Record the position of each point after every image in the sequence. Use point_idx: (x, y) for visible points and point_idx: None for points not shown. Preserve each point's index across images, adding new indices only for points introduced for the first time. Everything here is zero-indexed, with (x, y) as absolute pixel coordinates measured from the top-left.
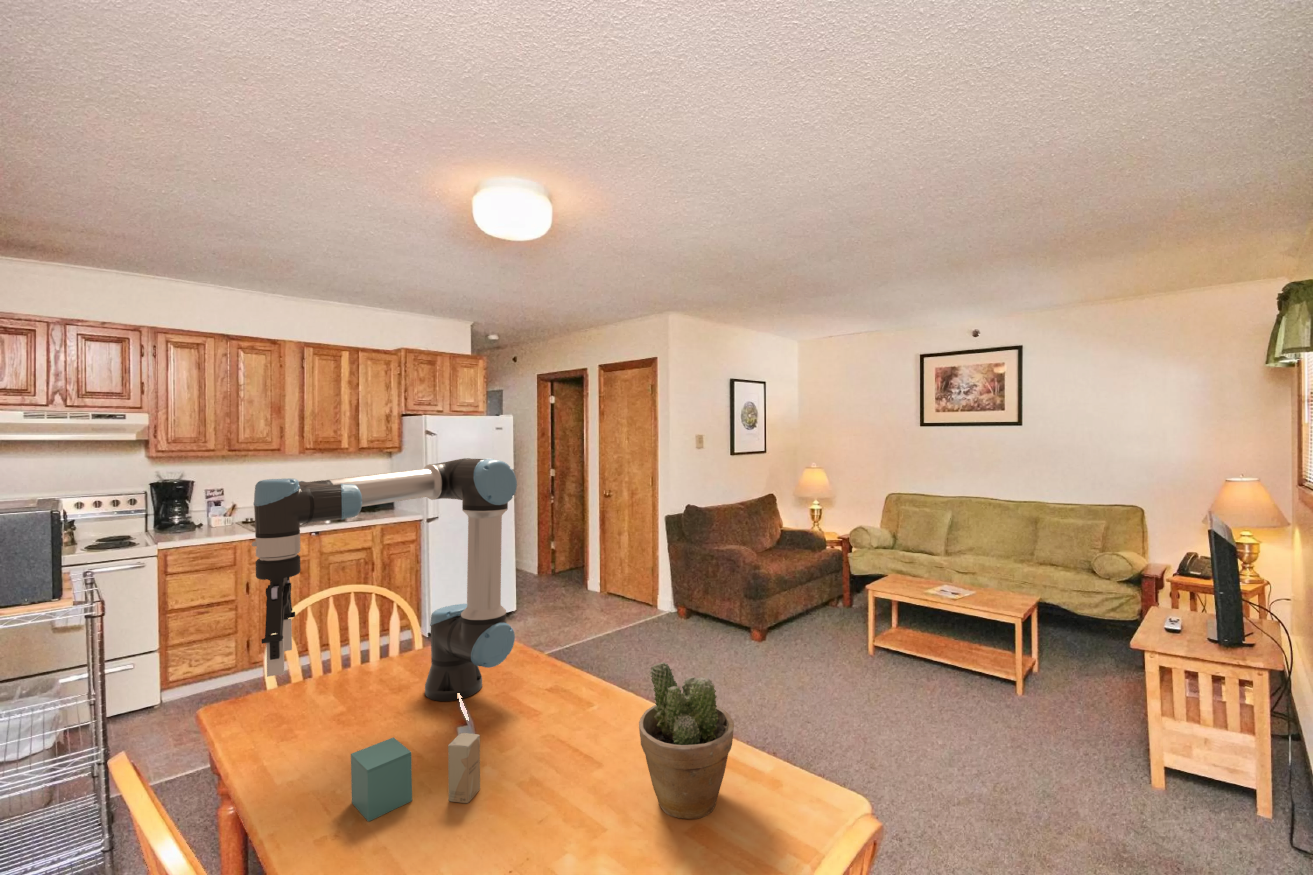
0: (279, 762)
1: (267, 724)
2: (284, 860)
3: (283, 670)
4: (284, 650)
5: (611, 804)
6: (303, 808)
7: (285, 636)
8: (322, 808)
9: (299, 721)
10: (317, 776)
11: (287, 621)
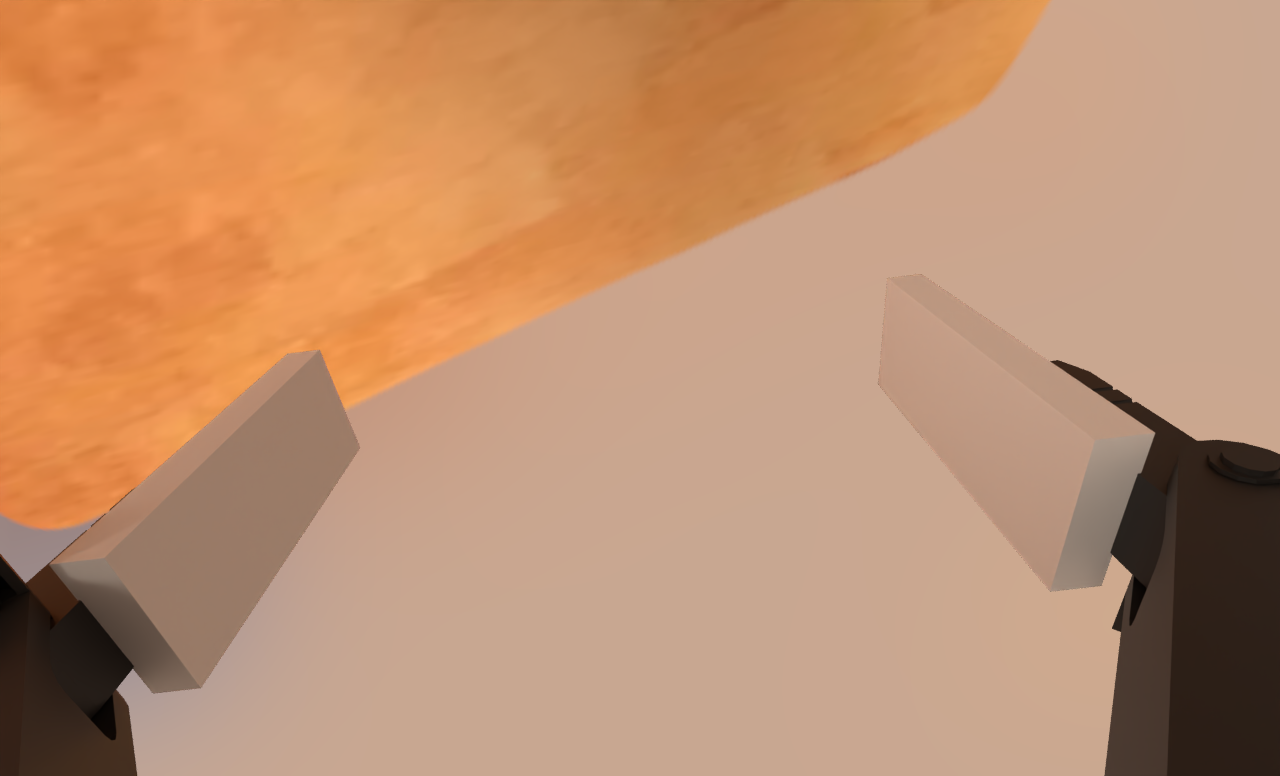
0: (420, 235)
1: (137, 343)
2: (979, 86)
3: (932, 286)
4: (336, 400)
5: None
6: (737, 87)
7: (272, 466)
8: (765, 18)
9: (111, 240)
10: (550, 79)
11: (145, 573)
